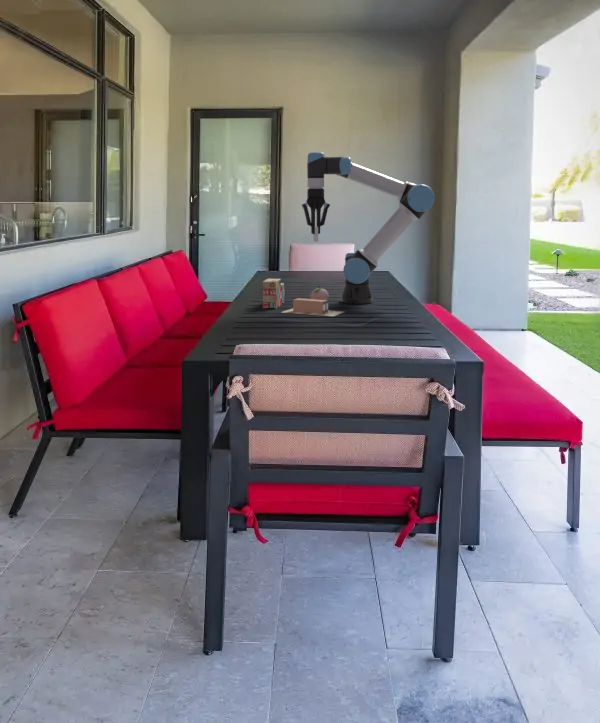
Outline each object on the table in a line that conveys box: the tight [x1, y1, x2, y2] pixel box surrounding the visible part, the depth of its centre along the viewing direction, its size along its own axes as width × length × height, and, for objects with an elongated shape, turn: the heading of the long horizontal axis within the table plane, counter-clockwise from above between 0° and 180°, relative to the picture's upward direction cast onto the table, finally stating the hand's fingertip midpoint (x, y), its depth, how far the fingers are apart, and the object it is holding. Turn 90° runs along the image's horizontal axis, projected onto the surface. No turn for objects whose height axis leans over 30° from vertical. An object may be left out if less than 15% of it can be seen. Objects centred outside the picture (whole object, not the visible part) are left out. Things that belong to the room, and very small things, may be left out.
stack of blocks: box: [262, 278, 286, 309], centre depth 350 cm, size 21×6×12 cm, turn 171°
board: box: [280, 308, 345, 317], centre depth 325 cm, size 24×14×1 cm, turn 67°
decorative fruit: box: [309, 285, 330, 301], centre depth 343 cm, size 9×8×10 cm
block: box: [292, 297, 329, 314], centre depth 326 cm, size 5×5×14 cm
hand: (315, 241), depth 347 cm, fingers closed
